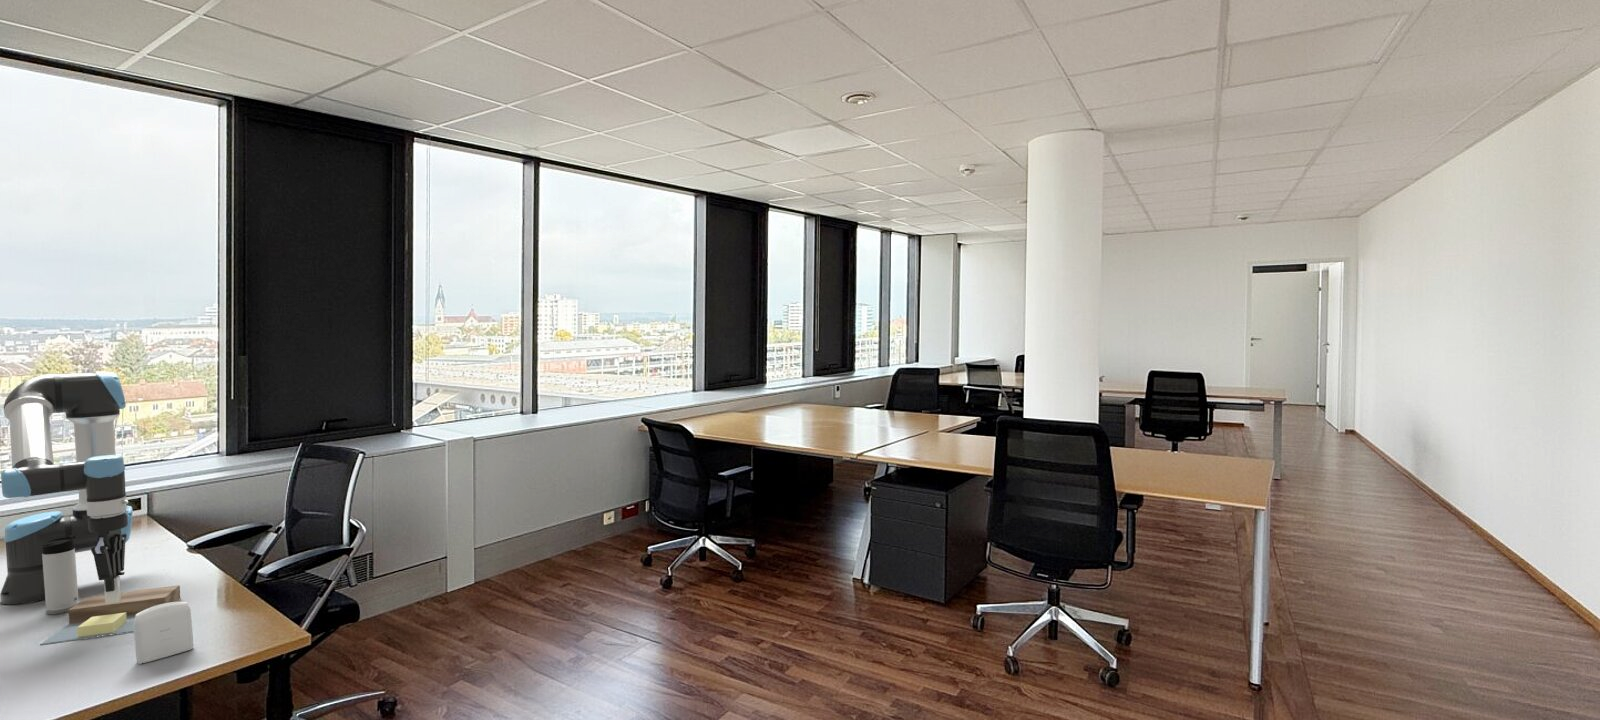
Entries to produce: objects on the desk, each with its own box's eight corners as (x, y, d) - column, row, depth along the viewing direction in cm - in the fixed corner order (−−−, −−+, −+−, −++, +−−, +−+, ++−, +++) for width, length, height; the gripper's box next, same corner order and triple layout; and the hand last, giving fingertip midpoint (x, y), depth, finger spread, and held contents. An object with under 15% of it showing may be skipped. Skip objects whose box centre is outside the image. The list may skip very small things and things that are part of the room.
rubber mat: (69, 624, 187) (69, 623, 187) (165, 611, 195) (165, 610, 195) (40, 645, 175) (40, 644, 175) (144, 630, 183) (144, 629, 183)
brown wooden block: (89, 610, 196) (88, 596, 196) (180, 598, 204) (179, 585, 204) (69, 624, 187) (68, 609, 187) (165, 611, 195) (164, 597, 195)
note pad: (77, 627, 179) (77, 637, 179) (113, 622, 181) (113, 632, 181) (91, 616, 185) (92, 626, 185) (126, 612, 188) (126, 621, 188)
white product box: (137, 666, 164) (134, 613, 163) (134, 660, 166) (131, 609, 166) (195, 650, 171) (192, 600, 171) (191, 645, 174) (188, 595, 174)
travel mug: (85, 606, 199) (80, 536, 198) (54, 615, 193) (49, 543, 192) (72, 603, 201) (67, 534, 200) (41, 613, 195) (35, 541, 194)
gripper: (113, 519, 183) (119, 608, 184) (137, 507, 195) (142, 591, 196) (75, 522, 180) (81, 613, 181) (101, 510, 192) (107, 595, 193)
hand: (113, 601), depth 189 cm, fingers closed
